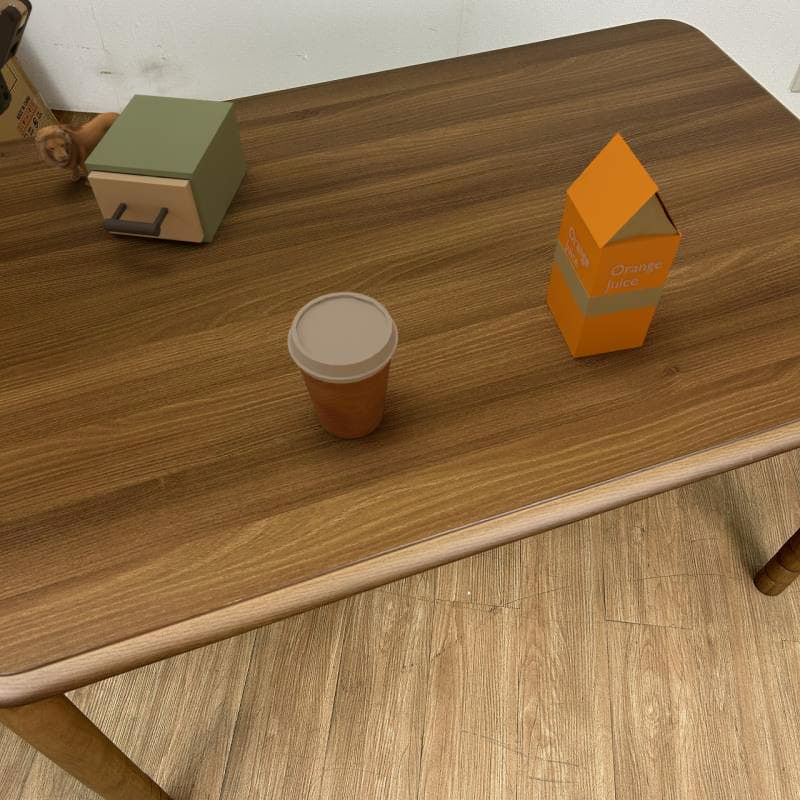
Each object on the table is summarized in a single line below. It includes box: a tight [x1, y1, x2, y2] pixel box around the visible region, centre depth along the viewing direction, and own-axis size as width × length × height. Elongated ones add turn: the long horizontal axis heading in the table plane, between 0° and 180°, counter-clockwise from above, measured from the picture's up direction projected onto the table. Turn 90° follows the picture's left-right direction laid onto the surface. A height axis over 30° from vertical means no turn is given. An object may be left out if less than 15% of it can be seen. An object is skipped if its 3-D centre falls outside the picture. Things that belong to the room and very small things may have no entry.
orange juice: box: [545, 132, 683, 359], centre depth 72 cm, size 8×9×20 cm
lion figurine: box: [34, 111, 121, 188], centre depth 94 cm, size 15×5×9 cm, turn 149°
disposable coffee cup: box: [286, 291, 399, 440], centre depth 68 cm, size 10×10×12 cm
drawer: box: [88, 171, 204, 244], centre depth 87 cm, size 18×11×8 cm, turn 170°
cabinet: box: [84, 93, 248, 243], centre depth 90 cm, size 15×13×10 cm
